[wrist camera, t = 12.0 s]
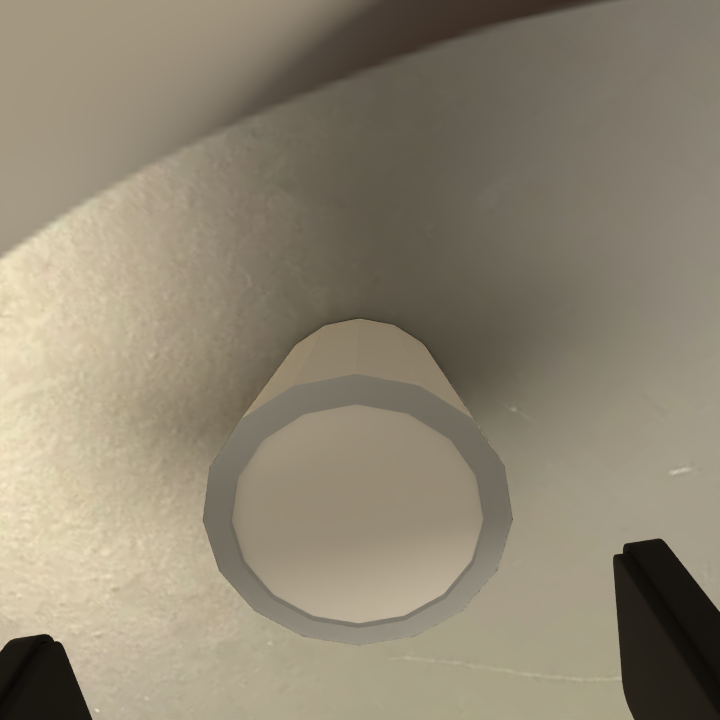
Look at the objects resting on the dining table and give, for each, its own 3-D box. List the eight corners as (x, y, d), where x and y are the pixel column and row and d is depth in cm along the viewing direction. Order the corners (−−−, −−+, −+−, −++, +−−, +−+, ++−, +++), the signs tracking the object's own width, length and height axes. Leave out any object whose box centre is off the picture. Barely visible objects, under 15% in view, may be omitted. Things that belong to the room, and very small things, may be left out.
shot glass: (216, 348, 20) (144, 447, 14) (420, 264, 19) (448, 325, 13) (307, 524, 22) (282, 685, 16) (496, 454, 21) (555, 593, 15)
